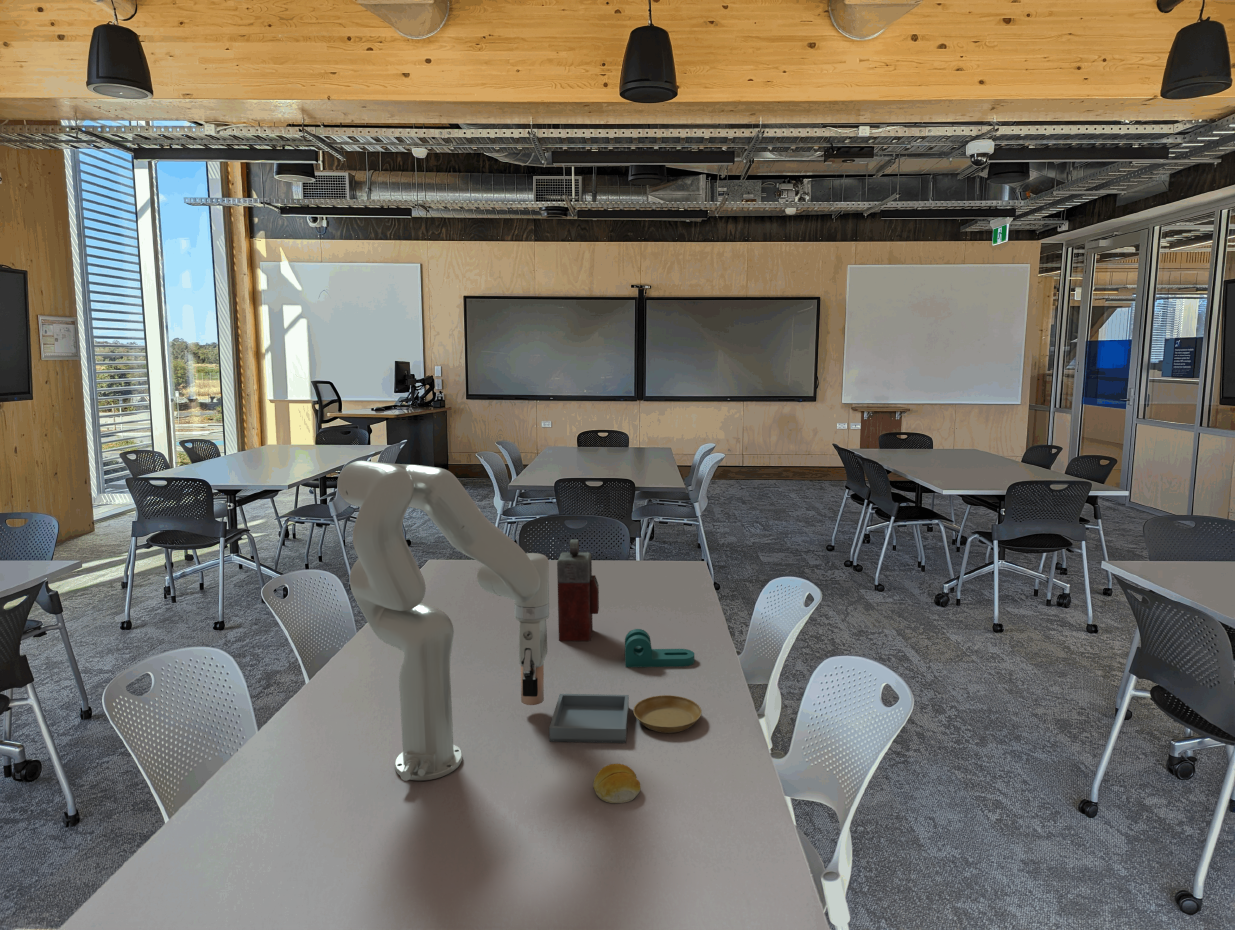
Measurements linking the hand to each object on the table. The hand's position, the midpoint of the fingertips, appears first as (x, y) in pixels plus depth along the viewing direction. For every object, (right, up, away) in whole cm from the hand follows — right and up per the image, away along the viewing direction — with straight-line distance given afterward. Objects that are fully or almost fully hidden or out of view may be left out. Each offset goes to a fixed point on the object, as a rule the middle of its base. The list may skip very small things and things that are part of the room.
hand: (532, 689), depth 160 cm
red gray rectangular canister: (+8, +1, +47) cm, 48 cm away
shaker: (0, -2, 0) cm, 3 cm away
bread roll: (+19, -10, -29) cm, 36 cm away
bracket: (+30, -2, +28) cm, 41 cm away
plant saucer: (+30, -6, -3) cm, 30 cm away
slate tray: (+13, -6, -4) cm, 15 cm away
